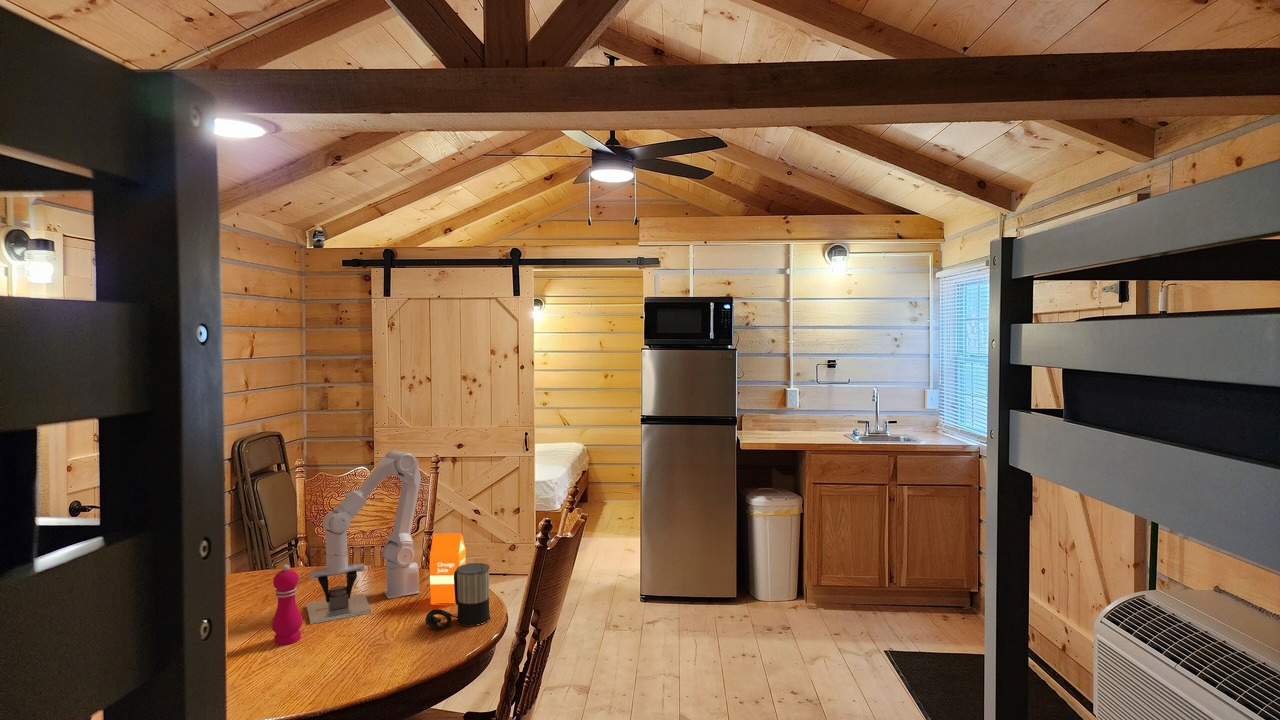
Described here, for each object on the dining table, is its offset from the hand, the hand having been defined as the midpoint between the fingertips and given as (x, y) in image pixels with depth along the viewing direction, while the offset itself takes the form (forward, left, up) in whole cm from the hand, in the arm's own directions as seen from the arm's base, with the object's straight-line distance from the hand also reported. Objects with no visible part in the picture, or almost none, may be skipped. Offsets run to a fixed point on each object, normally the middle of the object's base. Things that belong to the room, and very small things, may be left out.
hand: (338, 599), depth 207 cm
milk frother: (-28, +29, -3) cm, 40 cm away
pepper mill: (+14, +17, -3) cm, 22 cm away
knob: (0, 0, -2) cm, 2 cm away
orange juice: (-30, +9, -3) cm, 31 cm away
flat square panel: (0, 0, -3) cm, 3 cm away
